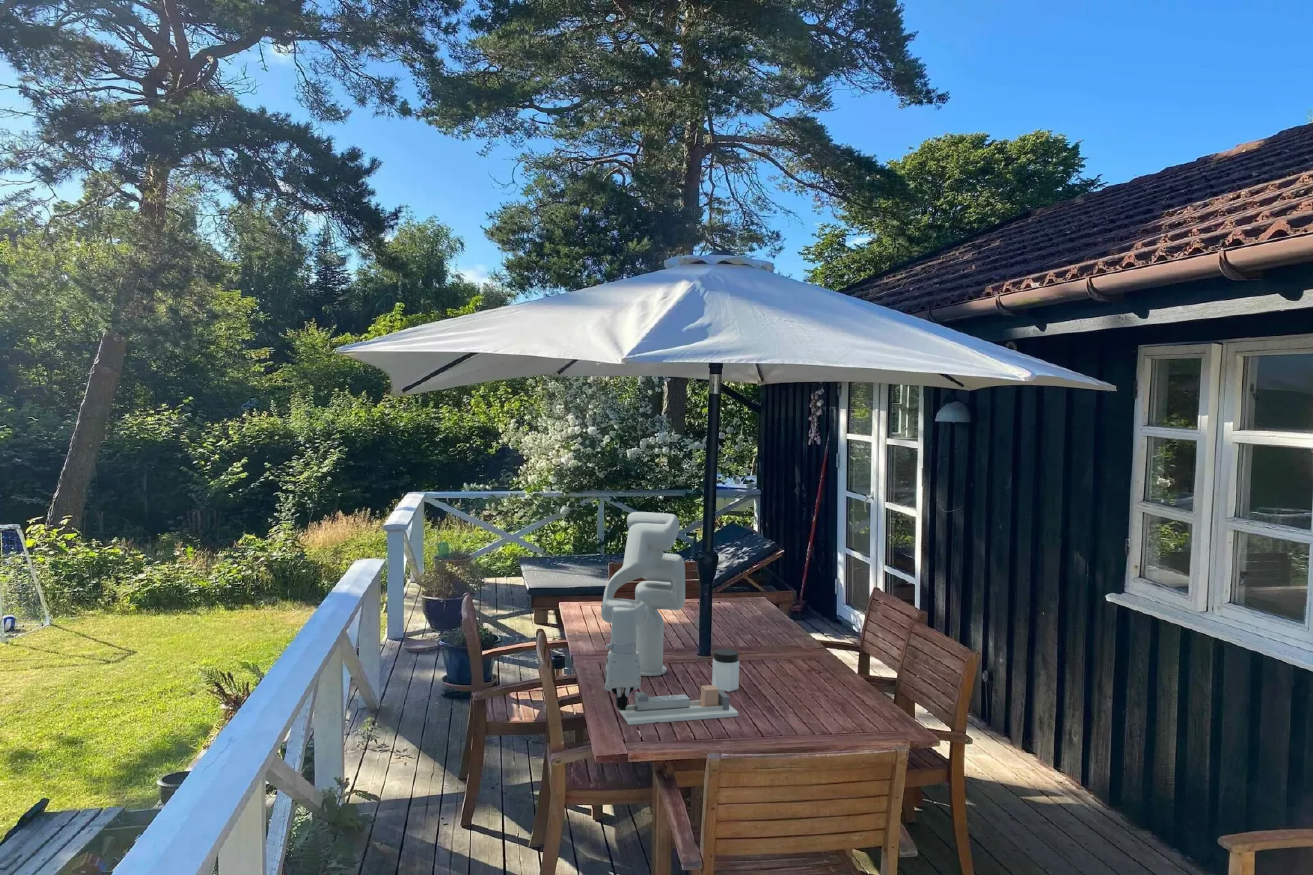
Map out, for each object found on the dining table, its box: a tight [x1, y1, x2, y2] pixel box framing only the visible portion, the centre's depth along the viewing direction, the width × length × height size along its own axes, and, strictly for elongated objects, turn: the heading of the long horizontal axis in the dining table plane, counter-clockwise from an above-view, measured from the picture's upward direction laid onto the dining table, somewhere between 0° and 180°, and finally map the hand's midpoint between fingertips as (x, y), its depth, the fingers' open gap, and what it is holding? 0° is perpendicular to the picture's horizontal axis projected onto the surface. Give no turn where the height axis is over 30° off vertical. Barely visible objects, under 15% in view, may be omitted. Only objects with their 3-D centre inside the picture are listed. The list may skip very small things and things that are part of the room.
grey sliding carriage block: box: [634, 691, 691, 712], centre depth 258 cm, size 4×16×5 cm, turn 107°
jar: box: [711, 648, 740, 693], centre depth 285 cm, size 9×8×12 cm
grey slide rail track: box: [618, 690, 739, 726], centre depth 259 cm, size 12×34×5 cm, turn 107°
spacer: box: [700, 684, 719, 707], centre depth 262 cm, size 4×4×6 cm
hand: (621, 708), depth 254 cm, fingers closed
